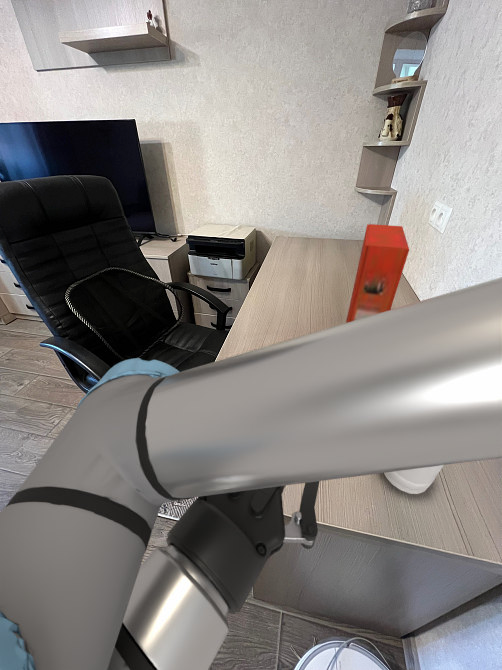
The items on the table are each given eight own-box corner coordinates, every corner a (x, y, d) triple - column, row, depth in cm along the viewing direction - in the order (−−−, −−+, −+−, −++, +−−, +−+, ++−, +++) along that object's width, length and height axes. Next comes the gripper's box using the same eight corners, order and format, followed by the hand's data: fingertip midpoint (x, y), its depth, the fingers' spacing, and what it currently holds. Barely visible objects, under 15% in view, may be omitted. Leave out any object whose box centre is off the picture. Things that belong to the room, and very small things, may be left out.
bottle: (401, 501, 45) (493, 362, 28) (371, 457, 52) (431, 322, 34) (440, 487, 47) (549, 348, 30) (406, 446, 53) (481, 312, 36)
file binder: (336, 368, 72) (365, 244, 53) (342, 333, 85) (367, 223, 66) (369, 376, 69) (411, 249, 51) (370, 338, 82) (404, 226, 64)
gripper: (151, 540, 26) (278, 389, 42) (267, 663, 20) (366, 432, 36) (130, 502, 22) (281, 350, 37) (270, 645, 16) (381, 391, 31)
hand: (322, 390), depth 37 cm, fingers closed
